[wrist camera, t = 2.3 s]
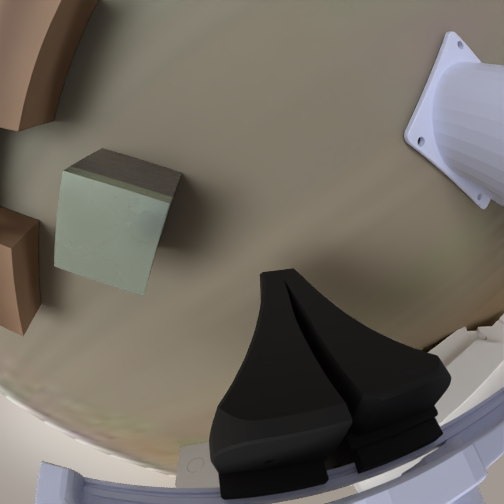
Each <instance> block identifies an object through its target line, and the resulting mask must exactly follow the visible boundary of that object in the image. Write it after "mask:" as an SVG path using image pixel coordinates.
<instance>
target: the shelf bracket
mask: <svg viewBox="0 0 504 504" xmlns="http://www.w3.org/2000/svg"><path fill="white" fill-rule="evenodd" d="M427 353H431V354H434V355H437V356H438V357H439V358H440V359H441V361H442V362H443V364H444V365H445V367H446V369H447V370H448V372H449V373H450V375H451V378H452V379H451V382H450V386H449V387H448V389H447V390H446V392H445V393H444V394H443V396H442V397H441V398H440V399H439V401H438V402H437V403H436V404H435V405H434V406H435V407H436V409H437V411H438V415H437V416H436V417H435V418H436V420H437V422H438V424H439V426H442V425H444V424H446V423H448V422H449V421H451V420H453V419H455V418H457V417H458V416H460V415H462V414H463V413H465V412H467V411H468V410H470V409H472V408H473V407H475V406H476V405H478V404H479V403H481V402H482V401H484V400H485V399H487V398H488V397H490V396H491V395H493V394H494V393H496V392H497V391H498V390H500V389H501V388H502V387H504V314H503V315H502V316H501V317H500V319H499V321H498V320H497V321H496V322H495V323H494V325H493V326H486V327H478V328H477V330H476V331H467V329H466V327H463V328H461V329H459V330H456V331H455V332H454V333H452V334H451V335H450V336H449V337H447V338H446V339H445V340H443V341H442V342H441V343H439V344H438V345H437V346H436V347H434V348H433V349H432V350H430V351H429V352H427ZM438 448H439V447H438ZM438 448H437V449H438ZM435 450H436V449H435ZM435 450H433V451H435ZM433 451H431V452H433ZM431 452H429V453H427V454H425V455H423V456H421V457H419V458H417V459H415V460H413V461H411V462H408V463H406V464H404V465H402V466H400V467H397V468H395V469H393V470H390V471H388V472H385V473H383V474H380V475H378V476H375V477H372V478H369V479H367V480H364V481H361V482H358V483H355V484H352V485H349V486H350V487H351V486H353V485H354V487H355V489H356V490H357V492H358V493H360V492H362V491H365V490H368V489H371V488H373V487H376V486H378V485H381V484H383V483H386V482H388V481H391V480H393V479H395V478H398V477H400V476H401V475H402V473H403V472H405V471H407V470H408V469H410V468H411V467H413V466H414V465H416V464H417V463H418V462H420V460H421V459H422V458H423V457H425V456H426V455H428V454H430V453H431Z"/></svg>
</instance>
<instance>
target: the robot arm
mask: <svg viewBox="0 0 504 504" xmlns="http://www.w3.org/2000/svg"><path fill="white" fill-rule="evenodd" d="M458 45H459V47H458ZM419 137H420V143H419V144H418V142H417V141H418V139H419ZM404 139H405V141H406V142H407V143H408V144H409V145H410V146H411V147H413V148H414V149H415V150H417V151H418V152H419V153H420V154H422V155H423V156H424V157H425V158H426V159H428V160H429V161H430V162H431V163H432V164H434V165H435V166H436V167H437V168H438V169H439V170H441V171H442V172H443V173H444V174H445V175H446V176H447V177H449V178H450V179H451V180H452V181H453V182H454V183H455V184H456V185H457V186H458V187H459V188H460V189H461V190H462V191H464V192H465V193H466V194H467V195H468V196H469V197H470V198H471V199H472V200H473V201H474V202H475V203H476V204H477V205H478V206H479V207H480V208H481V209H485V208H486V207H487V206H488V204H489V202H490V200H491V199H492V200H493V201H495V202H497V203H498V204H500V205H501V206H503V207H504V66H502V65H494V64H485V63H481V62H480V60H479V59H478V58H477V57H476V55H475V54H474V53H473V52H472V51H471V50H470V48H469V47H468V46H467V45H466V44H465V43H464V42H463V40H462V39H461V38H460V37H459V36H458V35H457V34H456V33H455V32H447V33H446V34H445V37H444V40H443V43H442V45H441V48H440V51H439V53H438V56H437V58H436V61H435V64H434V66H433V69H432V71H431V73H430V76H429V78H428V81H427V83H426V85H425V88H424V90H423V92H422V95H421V97H420V99H419V102H418V104H417V106H416V108H415V110H414V113H413V115H412V117H411V119H410V121H409V123H408V126H407V128H406V130H405V133H404ZM260 289H261V306H260V311H259V316H258V320H257V325H256V328H255V332H254V335H253V338H252V341H251V344H250V346H249V349H248V351H247V354H246V356H245V359H244V361H243V363H242V365H241V367H240V369H239V371H238V373H237V375H236V377H235V379H234V381H233V383H232V384H231V386H230V388H229V389H228V391H227V393H226V394H225V396H224V397H223V399H222V400H221V402H220V403H219V405H218V407H217V411H216V414H215V417H214V420H213V424H212V427H211V432H210V437H209V450H210V459H211V463H212V464H213V466H214V467H215V469H216V470H217V472H218V475H219V485H220V487H216V488H163V487H148V486H137V485H128V484H121V483H114V482H107V481H101V480H96V479H90V478H86V477H83V476H82V475H81V474H79V473H78V472H76V471H74V470H71V469H69V468H66V467H61V466H58V465H54V464H51V463H47V462H44V461H42V462H41V464H40V470H39V476H38V483H37V491H36V499H35V504H270V503H276V502H282V501H288V500H293V499H299V498H303V497H308V496H312V495H316V494H320V493H324V492H328V491H332V490H335V489H339V488H342V487H346V486H349V485H352V484H355V483H358V482H361V481H364V480H367V479H369V478H372V477H375V476H378V475H380V474H383V473H385V472H388V471H390V470H393V469H395V468H397V467H400V466H402V465H404V464H406V463H408V462H411V461H413V460H415V459H417V458H419V457H421V456H423V455H425V454H427V453H429V452H431V451H433V450H435V449H436V450H435V451H433V452H431V453H430V454H428V455H426V456H425V457H423V458H422V459H421V460H420V462H418V463H417V464H416V465H414V466H413V467H411V468H410V469H408V470H407V471H405V472H403V473H402V475H401V476H400V477H398V478H395V479H393V480H391V481H388V482H386V483H383V484H381V485H378V486H376V487H373V488H371V489H368V490H365V491H362V492H360V493H357V494H354V495H351V496H348V497H345V498H342V499H339V500H336V501H332V502H329V503H326V504H485V502H484V500H483V497H482V495H481V493H480V490H479V487H478V484H479V483H481V482H482V481H483V480H484V479H485V477H486V475H487V470H486V469H487V468H488V467H489V466H490V465H492V464H493V463H494V462H495V461H496V460H497V459H498V458H499V457H500V456H502V454H504V387H502V388H501V389H500V390H498V391H497V392H496V393H494V394H493V395H491V396H490V397H488V398H487V399H485V400H484V401H482V402H481V403H479V404H478V405H476V406H475V407H473V408H472V409H470V410H468V411H467V412H465V413H463V414H462V415H460V416H458V417H457V418H455V419H453V420H451V421H449V422H448V423H446V424H444V425H442V426H439V424H438V422H437V420H436V418H435V417H436V416H437V415H438V411H437V409H436V407H435V406H434V405H435V404H436V403H437V402H438V401H439V399H440V398H441V397H442V396H443V394H444V393H445V392H446V390H447V389H448V387H449V386H450V382H451V379H452V378H451V375H450V373H449V372H448V370H447V369H446V367H445V365H444V364H443V362H442V361H441V359H440V358H439V357H438V356H437V355H434V354H431V353H427V352H424V351H421V350H418V349H414V348H412V347H409V346H406V345H404V344H401V343H399V342H396V341H394V340H392V339H390V338H387V337H385V336H383V335H381V334H379V333H377V332H376V331H374V330H372V329H370V328H368V327H366V326H365V325H363V324H361V323H360V322H358V321H357V320H355V319H353V318H352V317H350V316H349V315H347V314H346V313H344V312H343V311H342V310H340V309H339V308H338V307H336V306H335V305H334V304H333V303H331V302H330V301H329V300H328V299H327V298H325V297H324V296H323V295H322V294H321V293H320V292H318V291H317V290H316V289H315V288H314V287H313V286H312V285H311V284H310V283H309V282H308V281H306V280H305V279H304V278H303V277H302V276H301V275H300V274H299V273H298V272H297V271H296V270H295V269H294V268H293V269H285V270H277V271H268V272H262V273H261V274H260ZM438 447H439V448H438ZM437 448H438V449H437Z"/></svg>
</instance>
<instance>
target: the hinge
mask: <svg viewBox="0 0 504 504" xmlns="http://www.w3.org/2000/svg"><path fill="white" fill-rule="evenodd" d="M175 485H176V488H216V487H220V485H219V475H218V472H217V470H216V469H215V467H214V466H213V464H212V463H211V459H210V450H209V442H205V443H200V444H195V445H189V446H184V447H180V453H179V460H178V468H177V476H176V484H175ZM270 504H272V503H270Z"/></svg>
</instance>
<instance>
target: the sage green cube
mask: <svg viewBox="0 0 504 504" xmlns="http://www.w3.org/2000/svg"><path fill="white" fill-rule="evenodd" d="M181 174H182V173H181V172H178V171H175V170H172V169H169V168H166V167H163V166H159V165H156V164H153V163H150V162H147V161H143V160H140V159H137V158H133V157H130V156H127V155H123V154H120V153H117V152H113V151H110V150H106V149H103V148H102V149H100V150H98V151H96V152H94V153H92V154H91V155H89V156H87V157H85V158H84V159H82V160H80V161H78V162H77V163H75V164H73V165H72V166H70V167H68V168H67V169H65V170H63V174H62V180H61V187H60V194H59V202H58V211H57V221H56V234H55V253H54V266H55V267H58V268H60V269H63V270H66V271H69V272H71V273H74V274H77V275H80V276H83V277H86V278H89V279H92V280H95V281H98V282H101V283H104V284H107V285H110V286H113V287H116V288H119V289H123V290H126V291H129V292H132V293H136V294H139V295H142V296H144V293H145V289H146V286H147V282H148V279H149V275H150V272H151V268H152V265H153V261H154V258H155V255H156V251H157V248H158V245H159V241H160V238H161V235H162V231H163V228H164V225H165V222H166V218H167V215H168V212H169V209H170V206H171V203H172V200H173V197H174V194H175V191H176V188H177V185H178V182H179V180H180V177H181Z"/></svg>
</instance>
